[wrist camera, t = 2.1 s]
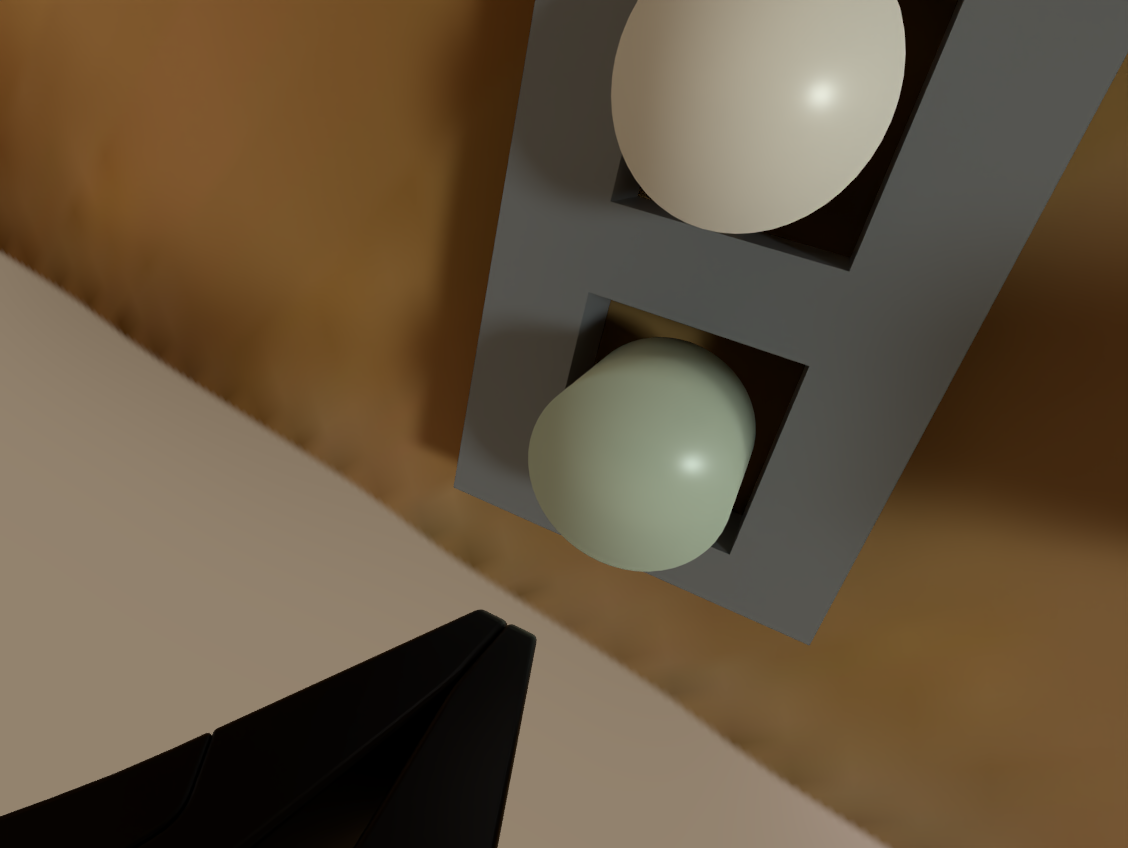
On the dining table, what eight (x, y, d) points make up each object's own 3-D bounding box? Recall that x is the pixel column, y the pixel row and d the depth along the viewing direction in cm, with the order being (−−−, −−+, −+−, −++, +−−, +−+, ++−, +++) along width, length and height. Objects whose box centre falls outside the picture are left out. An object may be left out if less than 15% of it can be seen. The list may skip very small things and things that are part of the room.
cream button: (940, -10, 11) (966, -61, 8) (836, 243, 13) (831, 267, 10) (696, -53, 12) (652, -110, 9) (635, 186, 14) (584, 194, 11)
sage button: (783, 374, 14) (767, 424, 11) (720, 530, 16) (693, 603, 13) (603, 312, 15) (550, 345, 12) (564, 465, 17) (511, 521, 14)
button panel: (1552, -830, 8) (1755, -1117, 6) (814, 597, 18) (809, 645, 16) (718, -744, 10) (689, -928, 8) (488, 458, 20) (453, 487, 18)
